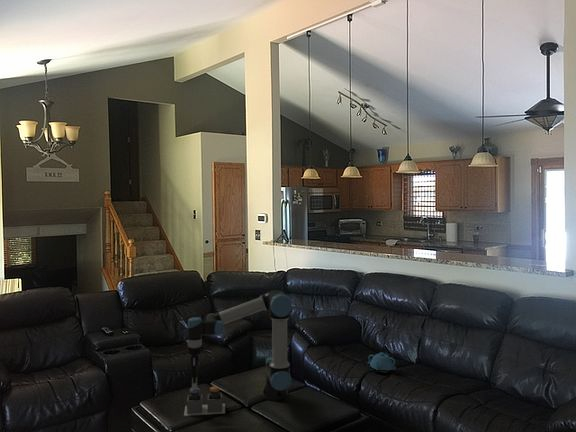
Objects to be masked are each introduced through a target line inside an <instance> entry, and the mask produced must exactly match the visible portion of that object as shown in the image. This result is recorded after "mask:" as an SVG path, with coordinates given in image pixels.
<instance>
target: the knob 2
mask: <svg viewBox="0 0 576 432" xmlns="http://www.w3.org/2000/svg"><path fill="white" fill-rule="evenodd" d="M209 391H210V394H211V399H219V393H220V391H221V388H220V386H211V387H210V388H209Z"/></svg>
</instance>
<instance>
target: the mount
mask: <svg viewBox="0 0 576 432" xmlns="http://www.w3.org/2000/svg"><path fill="white" fill-rule="evenodd" d="M186 398H187V399H186V405H185V406H184V411H183V412H184V413H183V416H184V417H186V416H187V417H188V416H200V415H204V416H205V415H219V414H226V404H225V403H223V393H221V392H219V399H211V393H207V404H203V394H202V393H201V394H200V393H199V400H191V394H187V397H186Z"/></svg>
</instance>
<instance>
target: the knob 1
mask: <svg viewBox="0 0 576 432" xmlns="http://www.w3.org/2000/svg"><path fill="white" fill-rule="evenodd" d="M200 390H201V389H200V388H199V387H197V389H192V387H191V388H190V389H189V393H190V395H191V400H199V394H200Z"/></svg>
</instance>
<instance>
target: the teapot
mask: <svg viewBox="0 0 576 432" xmlns="http://www.w3.org/2000/svg"><path fill="white" fill-rule="evenodd" d="M371 357H372V358H371ZM395 363H396V359H395V358H393V357H390V356H389V355H388V354H386V353H384V352H379V353H376V354H375V355H374V354H370V355H368V362H367V363H366V364H370V366H371V367H372V368H374V369H376V370H392V371H396V370H397V367H396V364H395ZM370 366H369V367H370Z"/></svg>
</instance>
